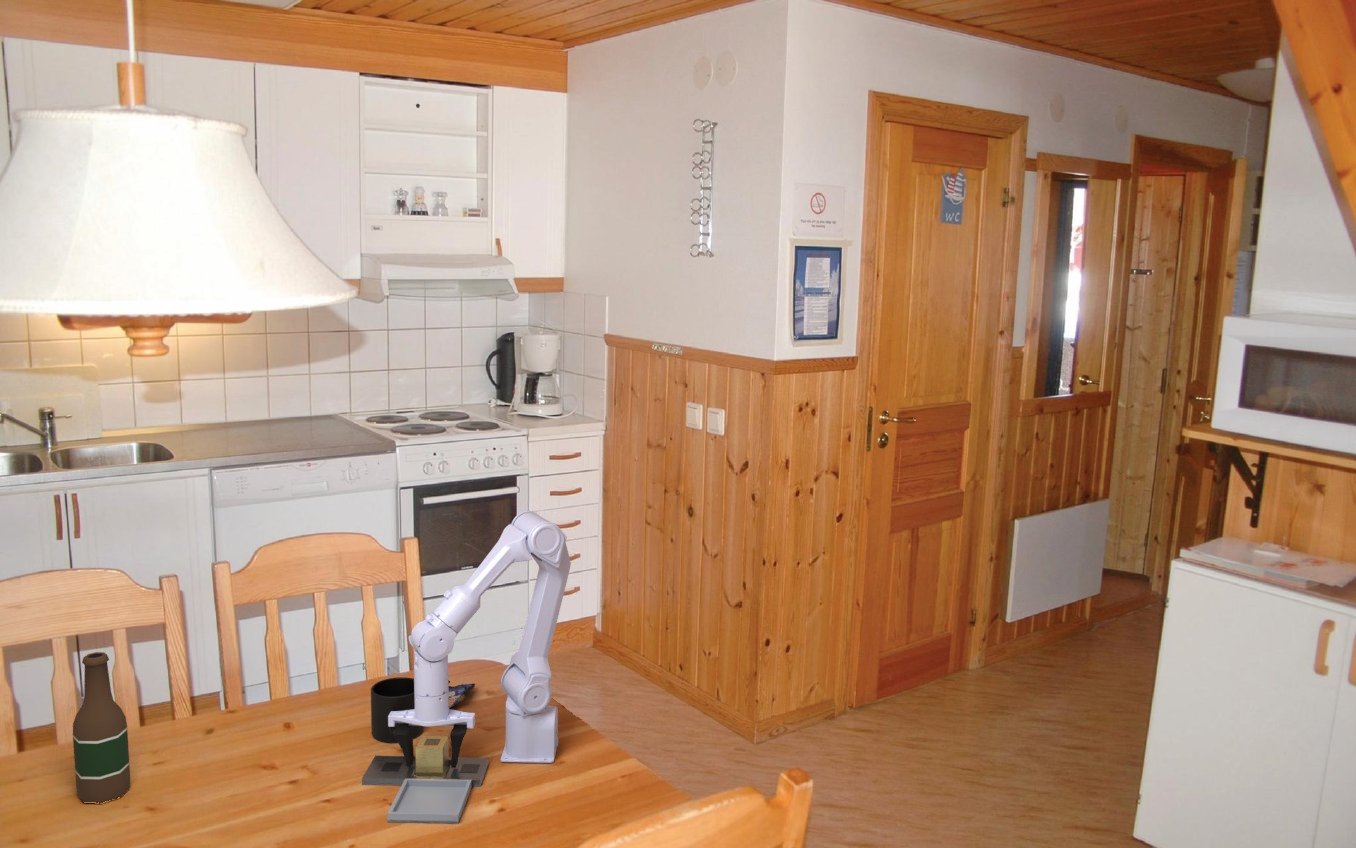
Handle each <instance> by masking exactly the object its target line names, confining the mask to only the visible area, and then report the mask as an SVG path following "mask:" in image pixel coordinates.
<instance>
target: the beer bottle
mask: <svg viewBox="0 0 1356 848" xmlns="http://www.w3.org/2000/svg"><path fill="white" fill-rule="evenodd" d="M109 661H110V658H109V655H108V654H106V652H104V651H103V652H101V651H99V652H98V651H97V652H90V653H88V654H87V655H85V656H83V657H82V664H83V665H84V682H83V687H84V694H83V695H84V697H83V703H82V705H81V707H80V708H79V710H78V711H77V713H76V714H75V717H74V721H73V723H72V743H73V757H74V759H73V760H74V771H75V773H74V774H75V783H76V784H75V785H76V793H77V797H78V796H79V797H80V798H79V797H78V798H79V799H80V800H81V802H82V801H83V802H96V803H98V802H99V803H103V802H105V801H109V800H112V799H116V798H118V797H121V796H122V795H123V794H124V793H125V792H126V791H127V790H128V789H129V788H130V789H131V770H130V769H131V767H130V754H129V753H130V752H129V736H128V735H129V733H128V732H129V731H128V723H127V719H126V718H127V717H126V715H125V713H124V711H123V709H122V708H121V707H120V706H119V704H118V703H117V702H116V701H115V700H114V697H113V693H112V690H111V689H112V688H111V681H110V674H109V673H110V672H109V666H108V662H109ZM130 789H129V790H130ZM129 790H128V791H129ZM128 791H127V792H128ZM127 792H126V793H127ZM126 793H125V794H126ZM125 794H124V795H125ZM124 795H123V796H124ZM123 796H122V797H123ZM122 797H121V798H122ZM83 802H82V803H83Z"/></svg>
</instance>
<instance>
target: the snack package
mask: <svg viewBox="0 0 1356 848" xmlns="http://www.w3.org/2000/svg"><path fill="white" fill-rule="evenodd" d="M449 684H451V681H450V680H449V679H448V686H449V695H450V696H449V698H455V699H454V700H455V701H454V702H453V701H452V703H453V704H452V703H451V704H449V709H450V708H452V707H454V706H455V705H457V704H459V703H460V702H462V701H464V700H465V699H466V697H467V696H468V695H469V693H470V692H471V690H473V689H475V686H476V683H461V684H459V685H455V686H451V685H449Z"/></svg>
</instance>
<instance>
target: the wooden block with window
mask: <svg viewBox="0 0 1356 848" xmlns="http://www.w3.org/2000/svg"><path fill="white" fill-rule="evenodd" d="M415 756H416V773H415V776H432V777H446V776H447V773H448V771H449V769H450V766H449V759H448V757H449V736H444V735H443V736H441V735H440V736H439V735H438V736H437V735H434V736H433V735H422V736H421V737H420V739H419V741H418V743H417V745H416V747H415Z"/></svg>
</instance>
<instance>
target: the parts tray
mask: <svg viewBox="0 0 1356 848" xmlns="http://www.w3.org/2000/svg"><path fill="white" fill-rule="evenodd" d="M472 788H473V787H472V780H459V779H408V778H405V780H404V782H403V784H402V785H400V788H399V789H398V792H397V793H396V796H395V798H394V799H393V802H392V803H391V805H390V807H389V809H388V811H387V816H386V817H387V818H386V819H387V820H386V821H387V823H401V824H402V823H404V824H406V823H407V824H408V823H409V824H449V825H450V824H452V825H453V824H457V825H458V824H459V822H460V820H461V818H462V815H463V812H464V809H465V807H466V804H467V801H468V799H469V796H470V793H471V790H472Z"/></svg>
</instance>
